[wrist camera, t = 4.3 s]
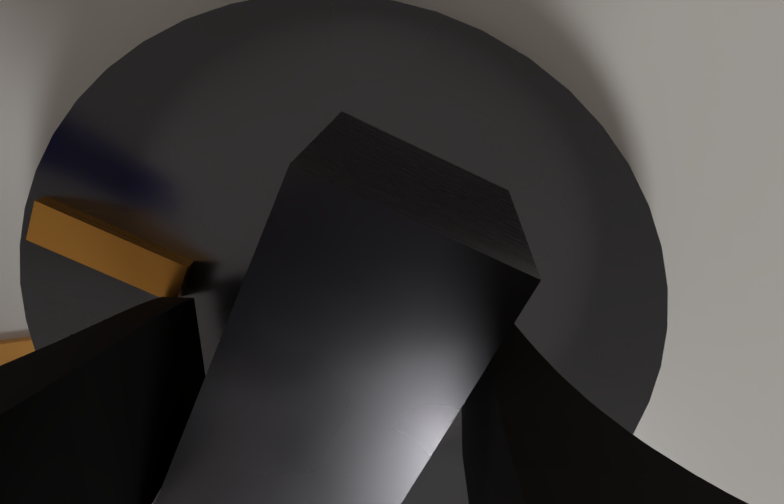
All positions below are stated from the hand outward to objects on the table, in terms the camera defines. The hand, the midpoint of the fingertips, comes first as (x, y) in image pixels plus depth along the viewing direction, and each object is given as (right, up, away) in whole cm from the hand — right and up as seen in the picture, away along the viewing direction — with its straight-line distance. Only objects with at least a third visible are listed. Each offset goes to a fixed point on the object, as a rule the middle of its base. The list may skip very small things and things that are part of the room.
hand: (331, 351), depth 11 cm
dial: (0, +1, +1) cm, 1 cm away
